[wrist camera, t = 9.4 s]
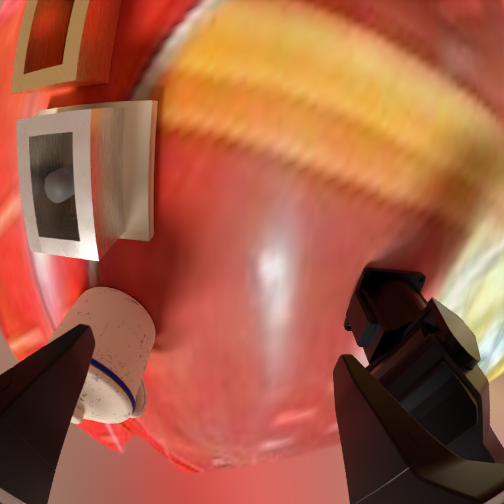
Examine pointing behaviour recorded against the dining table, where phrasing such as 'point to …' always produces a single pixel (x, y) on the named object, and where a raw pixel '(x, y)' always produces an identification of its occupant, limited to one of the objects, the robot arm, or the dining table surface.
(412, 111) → the dining table surface
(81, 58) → the link
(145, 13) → the dining table surface
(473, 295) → the dining table surface
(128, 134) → the keeper
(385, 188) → the dining table surface
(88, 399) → the teacup with lid
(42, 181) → the link
